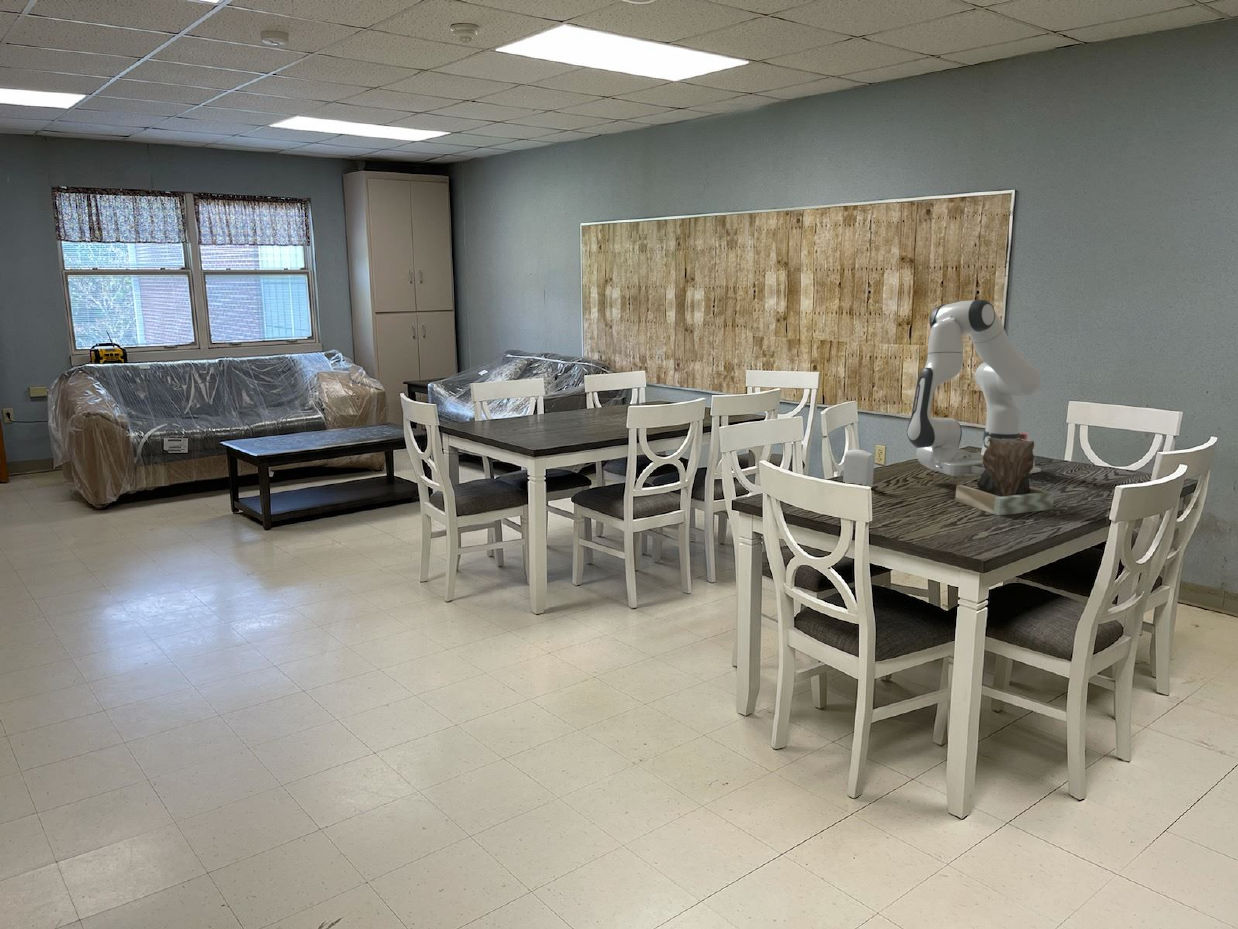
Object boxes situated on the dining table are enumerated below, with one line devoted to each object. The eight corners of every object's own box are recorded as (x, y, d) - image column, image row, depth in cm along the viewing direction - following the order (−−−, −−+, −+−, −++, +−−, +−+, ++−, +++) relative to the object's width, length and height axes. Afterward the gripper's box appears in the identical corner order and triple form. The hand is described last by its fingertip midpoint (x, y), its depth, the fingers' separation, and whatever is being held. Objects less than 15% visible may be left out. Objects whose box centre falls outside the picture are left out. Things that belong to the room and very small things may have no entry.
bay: (1006, 495, 287) (1008, 480, 286) (1052, 509, 270) (1054, 493, 269) (955, 500, 279) (956, 485, 278) (998, 515, 263) (1000, 498, 262)
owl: (973, 500, 280) (980, 437, 276) (1003, 496, 286) (1009, 434, 281) (1006, 509, 269) (1013, 444, 265) (1036, 505, 275) (1043, 441, 270)
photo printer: (840, 484, 299) (843, 448, 296) (848, 483, 301) (851, 446, 299) (866, 490, 291) (869, 453, 288) (874, 488, 294) (877, 451, 291)
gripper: (932, 455, 288) (963, 463, 275) (981, 451, 295) (1014, 459, 282) (930, 474, 289) (961, 483, 276) (979, 470, 296) (1012, 479, 284)
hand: (988, 471), depth 279 cm, fingers closed
